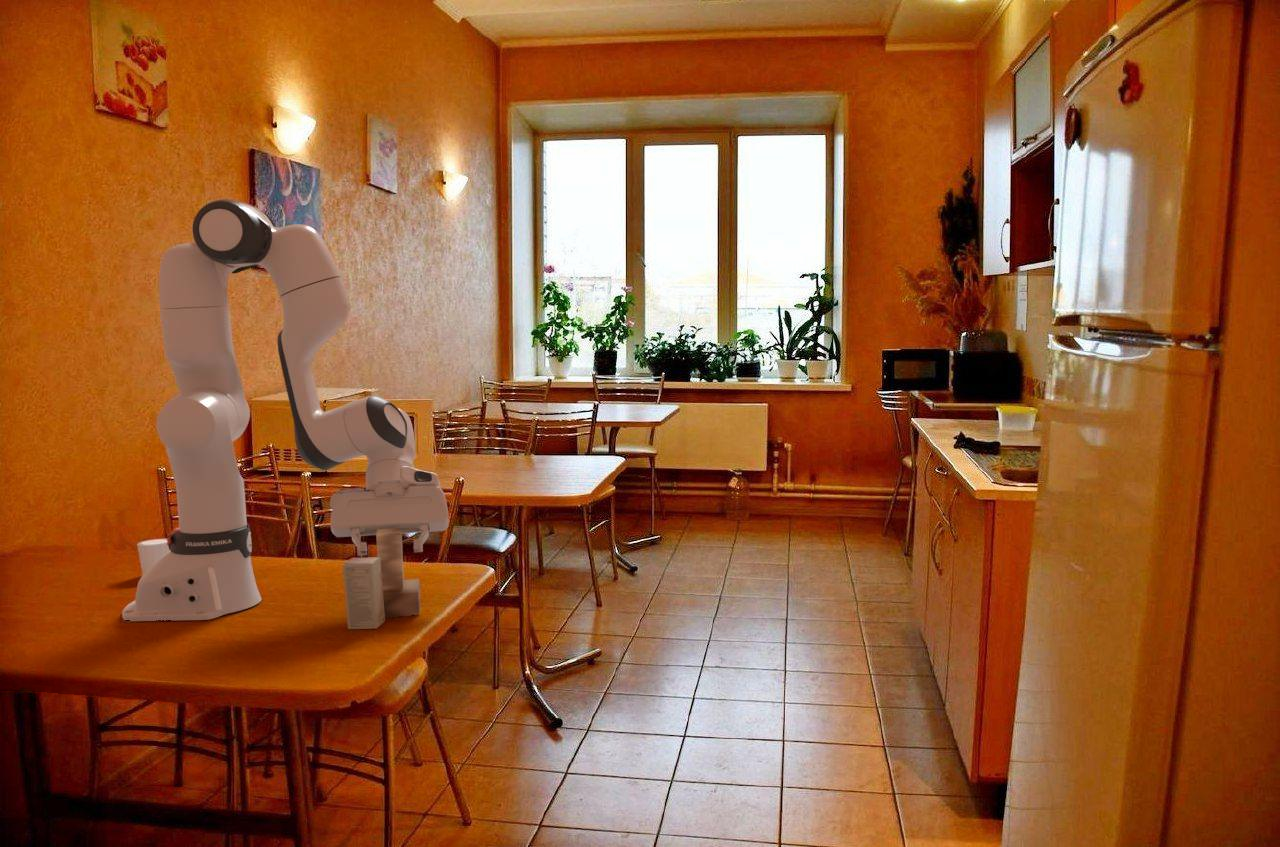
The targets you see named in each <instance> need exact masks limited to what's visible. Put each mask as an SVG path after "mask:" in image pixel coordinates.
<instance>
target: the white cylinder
mask: <svg viewBox="0 0 1280 847" xmlns="http://www.w3.org/2000/svg"><path fill="white" fill-rule="evenodd" d="M167 539H168V537H167V538H166V537H164V538H163V537H162V538H153V539H147V540H142V541H140V542H138V543H137V544H136V545H137V551H138V556H139V562H140V567H141V573H142V576H143V575H144V574H145V573H146V572H147V571H148V570H149V569H150V568H151V567H153V566H154V565H155V564H156V563H157V562H158V561H160V560H161V559H162V558H163V557H164V556H166V555H167V554H168V553H169V552H170V550H169V546H168V545H167V542H168V541H167Z"/></svg>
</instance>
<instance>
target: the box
mask: <svg viewBox="0 0 1280 847" xmlns="http://www.w3.org/2000/svg"><path fill="white" fill-rule="evenodd" d="M342 569H343V582H344V594H345V605H346V606H345V607H346V608H345V609H346V619H347V621H346V622H347V629H348V630H363V629H365V630H372V629H374V630H375V629H378V628H379V627H380V626H381V625H383V624H384V623H385V621H386V618H385V612H384V599H383V586H382V573H381V561H380V557H377V556H376V557H375V556H372V557H352V558H350V559H349V560H346V562H344V563H342Z"/></svg>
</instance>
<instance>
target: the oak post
mask: <svg viewBox="0 0 1280 847" xmlns="http://www.w3.org/2000/svg"><path fill="white" fill-rule="evenodd" d="M402 534H403V533H402V529H401V528H387V529H378V530H377V533H376V535H375V536H376V538H375V539H376V553H377V554H376V555H377V556H376V557H380V561H381V573H382V586H383V591H389V590H403V587H404V580H405V576H404V575H405V574H404V573H405V572H404V558H403V557H404V555H403V554H404V552H403V551H404V550H403V535H402Z"/></svg>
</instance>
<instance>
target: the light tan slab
mask: <svg viewBox="0 0 1280 847" xmlns="http://www.w3.org/2000/svg"><path fill="white" fill-rule="evenodd" d="M383 599H384V612H385V617H388V618H398V616H402V617H412V616H411V615H415V616H420V612H421V611H420V610H421V602H420V601H422V600H421V581H420V578H415V579H413V578H412V579H404V587H403V590H389V591H383ZM419 611H420V612H419Z"/></svg>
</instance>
